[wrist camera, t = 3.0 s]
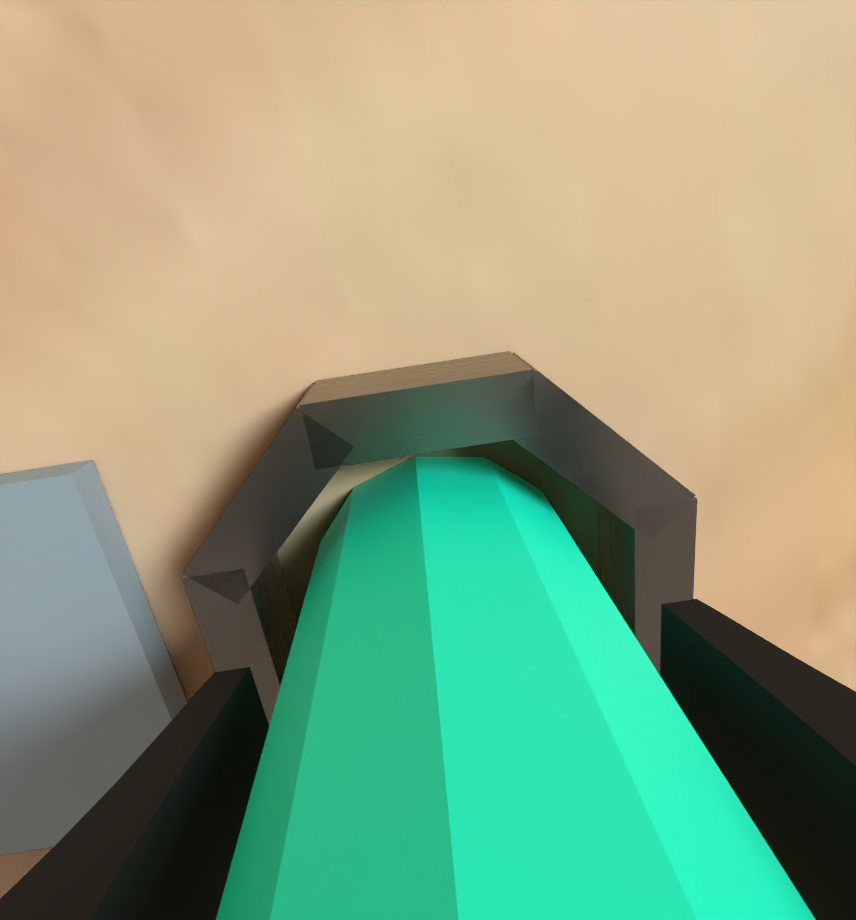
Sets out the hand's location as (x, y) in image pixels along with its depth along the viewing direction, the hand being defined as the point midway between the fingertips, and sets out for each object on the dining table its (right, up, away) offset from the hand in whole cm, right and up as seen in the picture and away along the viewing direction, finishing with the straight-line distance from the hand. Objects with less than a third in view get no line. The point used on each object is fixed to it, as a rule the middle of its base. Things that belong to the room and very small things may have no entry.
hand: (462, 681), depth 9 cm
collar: (0, +1, +3) cm, 4 cm away
